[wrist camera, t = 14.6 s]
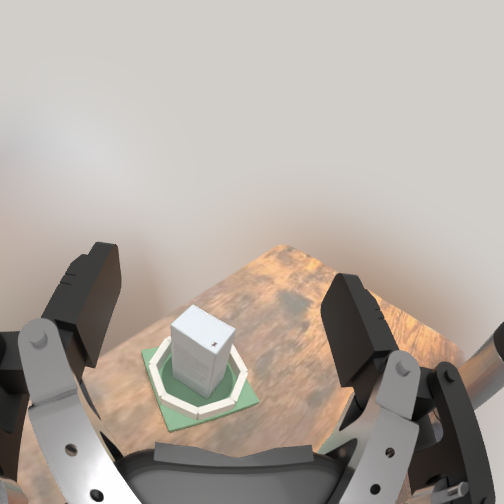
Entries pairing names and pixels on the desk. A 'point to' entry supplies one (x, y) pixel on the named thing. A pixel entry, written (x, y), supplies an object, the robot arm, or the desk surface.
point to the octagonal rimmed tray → (190, 402)
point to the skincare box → (200, 350)
